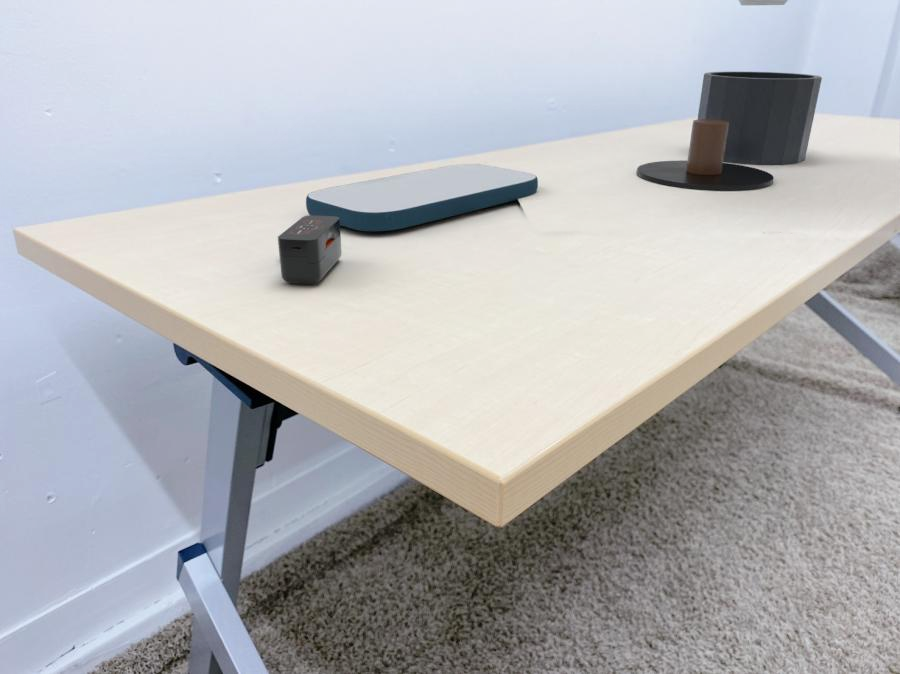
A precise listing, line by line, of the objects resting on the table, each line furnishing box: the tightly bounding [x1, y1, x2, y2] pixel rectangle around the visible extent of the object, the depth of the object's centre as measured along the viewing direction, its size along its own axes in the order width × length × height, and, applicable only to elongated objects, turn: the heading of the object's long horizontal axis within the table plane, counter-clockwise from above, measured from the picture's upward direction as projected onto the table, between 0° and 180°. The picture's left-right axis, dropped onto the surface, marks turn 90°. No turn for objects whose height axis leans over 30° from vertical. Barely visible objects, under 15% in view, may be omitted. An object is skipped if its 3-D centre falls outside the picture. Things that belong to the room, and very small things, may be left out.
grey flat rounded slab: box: [305, 163, 539, 232], centre depth 69 cm, size 24×12×2 cm, turn 136°
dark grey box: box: [277, 215, 343, 285], centre depth 50 cm, size 5×7×3 cm, turn 173°
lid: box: [636, 119, 775, 192], centre depth 79 cm, size 15×15×7 cm
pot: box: [697, 71, 823, 166], centre depth 91 cm, size 14×14×10 cm
